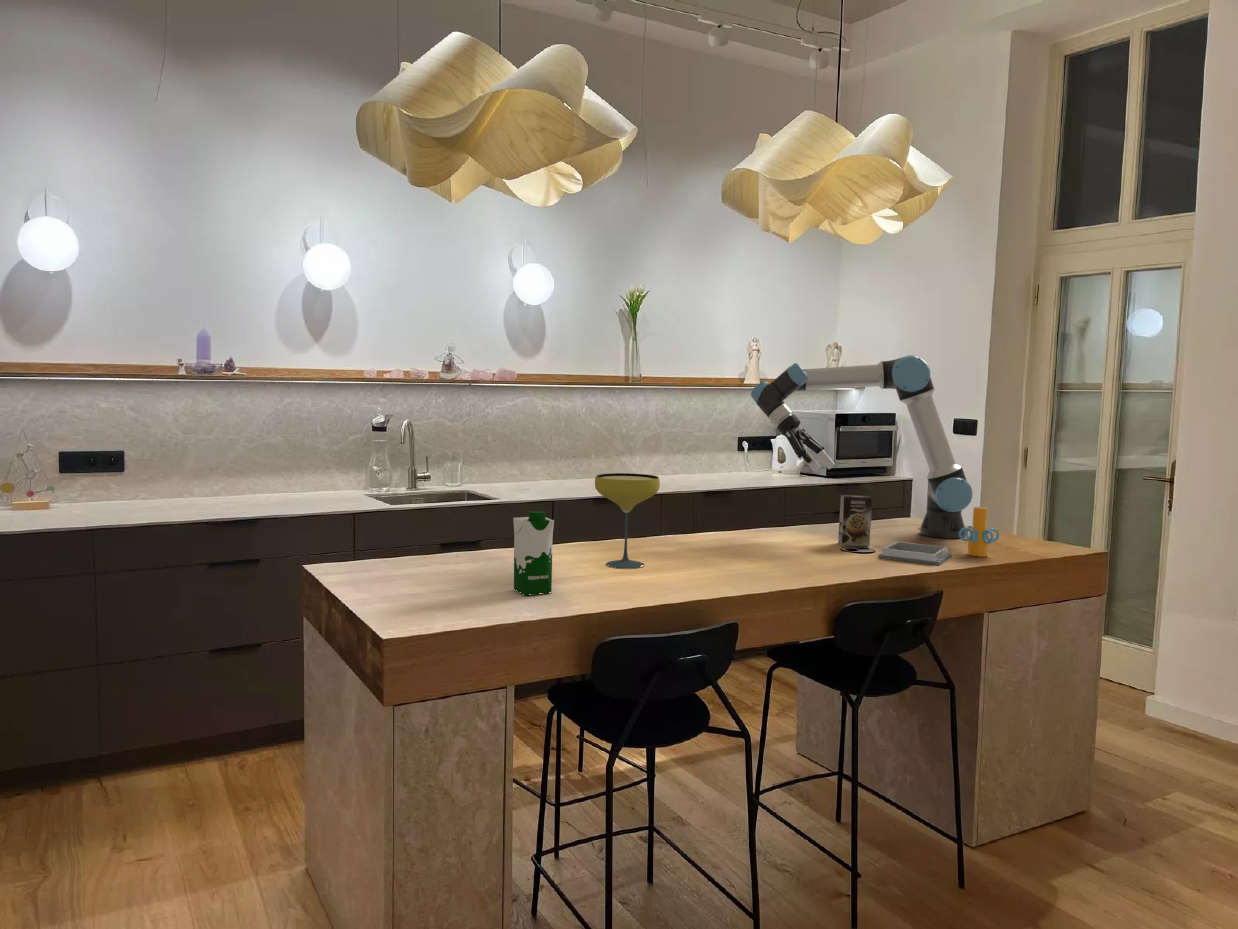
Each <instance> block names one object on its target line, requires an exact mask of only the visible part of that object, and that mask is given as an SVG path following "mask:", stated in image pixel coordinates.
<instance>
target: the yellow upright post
mask: <svg viewBox="0 0 1238 929" xmlns="http://www.w3.org/2000/svg"><path fill="white" fill-rule="evenodd" d="M987 521H988V507H986V506H985V507H984V506H973V513H972V525H967V526H966V527H965V528H962V529H961V530H960V531H959V537H960V538H959V539H960V540H961V541H965V542H968V543H967V555H968V556H970V555H972V556H971V557H975V556H978V557H977V558H986V556H987V557H988V556H989V545H990V544H992V543H994V542H996V541H998V540H999V538H1000V532H999V530H998V529H996V528H992V527H991V528H988V529H987ZM964 530H965V534H966V536H965V537H964V538H963V537H962V535H961V533H962V531H964ZM993 532H995V533H996V537H995V538H994V534H993ZM989 535H990V538H989Z"/></svg>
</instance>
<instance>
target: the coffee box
mask: <svg viewBox="0 0 1238 929" xmlns="http://www.w3.org/2000/svg"><path fill="white" fill-rule="evenodd" d="M872 506H873V497H871V496H869V495H859V494H858V495H853V494H852V495H851V494H840V506H839V520H838V522H839V523H838V538H837V539H838V541H837V543H838V544H839V545H840V544H841V545H842V547H855V546H869V547H870V543H871V542H870V541H871V525H872V524H871V523H872ZM841 545H840V546H841Z"/></svg>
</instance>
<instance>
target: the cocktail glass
mask: <svg viewBox="0 0 1238 929" xmlns="http://www.w3.org/2000/svg"><path fill="white" fill-rule="evenodd" d="M660 483H661V482H660V478H659V476H656V475H653V474H644V473H643V474H642V473H630V472H629V473H626V472H625V473H624V472H622V473H621V472H618V473H617V472H616V473H601V474H600V473H599V474H596V476H595V477H594V488H595V489H596V492H598V493H599V494H600V495H601V496H602V497H604V498H606V499H607V500H609V501H611V502H613V503H614V504H616V505H617V506H619V508H620V510H621V511H622V512H623V513H625V514H624V515H625V516H624V517H625V520H624V521H625V522H624V543H623V544H624V547H623V548H624V549H623V555H622V558H621V559H618V560H617V559H616V560H615V559H614V560H610V561H607V562H606V563H605V565H606V566H607V565H609V566H612V567H616V568H615V569H619V568H635V569H638V568H637V567H640V566H641V565H644V566H645V563H644V562H641V561H637V560H632V559H630V558H629V556H628V555H629V554H628V514H629V513H630V512H631V511H632V510H633V509H634V508H635V506H637V505H638V504H640V503H641V502H644V501H646V500H648V499H650V498H652V497H653V496H655V495H656V494H657V493H658V492H659V490H660V486H661V484H660ZM609 566H608V567H609ZM612 567H611V568H612Z"/></svg>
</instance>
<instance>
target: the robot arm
mask: <svg viewBox="0 0 1238 929" xmlns="http://www.w3.org/2000/svg"><path fill="white" fill-rule="evenodd" d="M869 387H870V388H871V387H872V388H873V387H879V388H880V389H881V390H884V389H885V390H886V389H887V390H889V389H892V390H895V391H896V393H897V396H898V399H899V401H900V402H901V403H902V404H905V405H906V407H907V410H908V414H909V417H910V419H911V422H912V425H913V427H914V430H915V432H916V433H915V434H916V435H917V439H918V441H919V445H920V448H921V450H922V453H923V456H924V459H925V462H926V464H927V467H928V470H929V471H928V475H927V476H926V479H927V494H926V495H927V496H926V510H925V512H926V513H925V515H924V517H923V519H922V522H921V524H920V527H919V534H920V535H922V536H925V537H933V538H939V539H960V537H959V531H960V530H961V529H962V528H965V524H964V523H965V522H964V519H963V515H962V511H963V510H965V509H966V508H968V506H969V505H970V504H971V502H972V500H973V496H974V494H973V489H972V486H971V484H970V483H969V482H968V480H967V477H966V475H965V472H964V469H963V466H961V465H960V464H958V463H957V462H956V461H955V458H954V455H953V452H952V449H951V446H950V443H949V440H948V438H947V435H946V433H945V429H944V426H943V423H942V420H941V417H940V415H939V412H938V410H937V407H936V404H935V400H934V398H933V394H934V392H935V387H934V383H933V380H932V378H931V369H930V366H929V364H928V363H927V362H926V360H925V359H924V358H922V357H919V356H917V355H913V354H912V355H910V354H909V355H906V356H901V357H899V358H896V359H892V360H884V361H883V360H882V361H880V362H878V363H877V364H865V365H851V366H849V365H848V366H835V367H834V366H833V367H818V368H805V369H803V368H802V366H801V365H800V364H799V363H797V362H795V363H793V364H791V365H790V366H788V368H786V369H785V370H784V371H783V372H782V373H780V374H779V375H778V376H777V377H776V378H775V379H774V380H773V381H771V382H770V383H769V382H768V381H765V380H764V381H760V383H757V384H756V385H755V386H754V387H753V389H751V392H750V397H751V398H752V399H753V401H754V402H755V404H756V405H757V406H758V407H759V409H760V410H761V411H762V412H763V414H765V416H766V417H767V418H768V419H769V420H770V423H771V424H773V425H774V426H775V428H776V427H777V430H778V432H779V433H780V434H781V435H782V436H783V437H785V438H786V439H787V441H788V443H789V444H790V446H791V448H792V449H793V451H794V453H795V455H796V457H797V458H798V459H801V458H802V459H803V461H804V462H805V463H806V464H807V465H808V467H809V468H810V469H811V471H813V472H814V473H816V472H817V471H819V469H820V468H821V465H820V464H819V463H818V462H817V460H816V459H815V458H814V457H813V456H812V454H811V453H810V452H809V451H807V450H806V447H808V449H810V450H811V451H813V452H814V453H815V454H816V456H817V458H818V459H819V461H821V463H823V465H825V467H826V468H827V469H828V470H831V469H832V468H833V467H834V466H835V465H836V463H835V462H834V461H833V460H832V459H831V457H830V456H829V455H828V454H827V453H826V451H825V449H826V448H825V446H823V445H822V444H821V443H819V442H818V441H817V440H816V439H815V438H814V436H812V435H811V434H810V433H809V432H808V431H807V430H806V429H805V428H802V429H801V428H800V427H799V426H800V425H801V420H800V419H799V418H798V416H797V415H796V414H794V412H793V411H792V410H791V409H790V407H789V406H788V405H787V404H786V403H785V401H784V400H786V399H788V397H790V396H791V395H792V394H793V393H795V392H802V391H803V392H804V391H814V390H815V391H818V390H820V391H821V390H834V389H849V388H850V389H851V388H869ZM805 446H806V447H805ZM961 535H962V537H963V538H966V534H965V530H964V531H962V533H961Z"/></svg>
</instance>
